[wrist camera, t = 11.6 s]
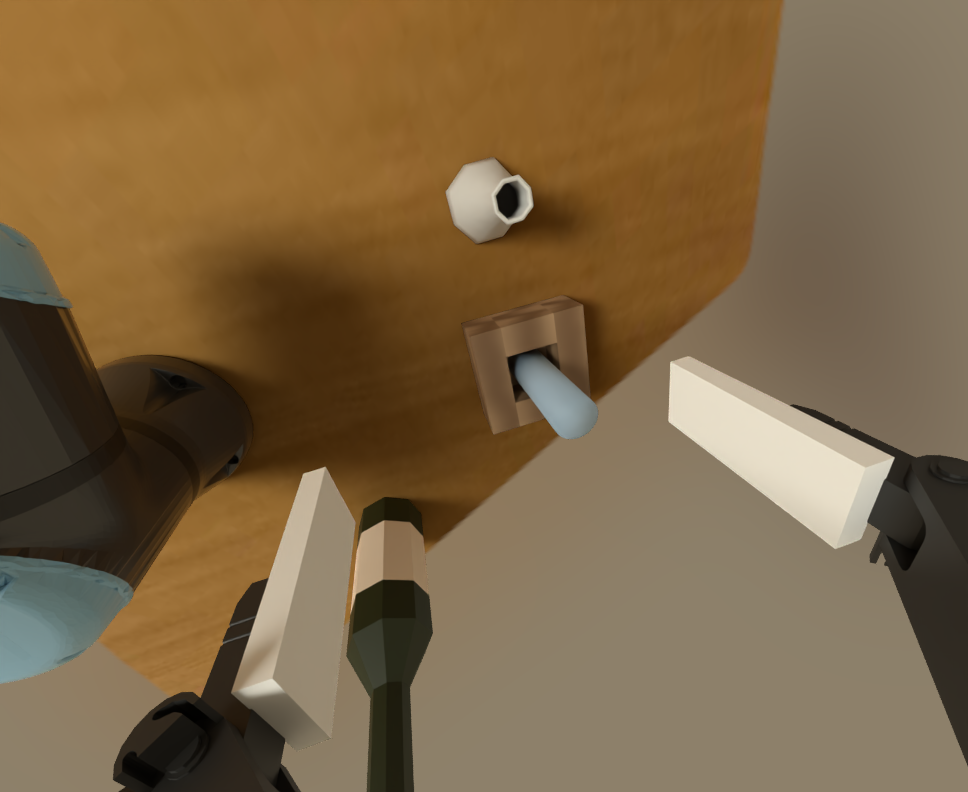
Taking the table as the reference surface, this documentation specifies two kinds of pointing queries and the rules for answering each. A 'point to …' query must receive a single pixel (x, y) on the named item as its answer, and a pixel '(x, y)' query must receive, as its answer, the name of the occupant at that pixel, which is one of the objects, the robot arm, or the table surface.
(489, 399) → the bore block
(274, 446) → the table surface
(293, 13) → the table surface
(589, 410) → the dowel
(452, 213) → the flask
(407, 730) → the wine bottle
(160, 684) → the table surface
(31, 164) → the table surface
